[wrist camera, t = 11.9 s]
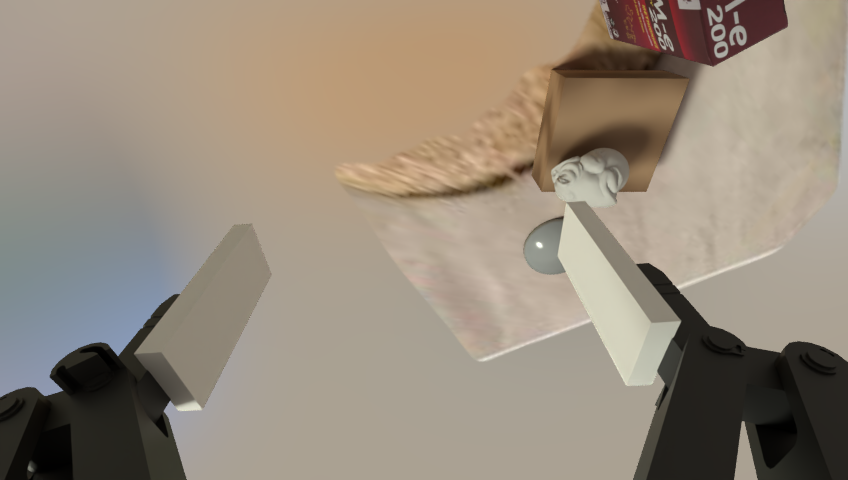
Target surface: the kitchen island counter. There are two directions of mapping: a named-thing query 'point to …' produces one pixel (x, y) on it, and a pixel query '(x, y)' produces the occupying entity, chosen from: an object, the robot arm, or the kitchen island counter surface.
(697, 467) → the robot arm
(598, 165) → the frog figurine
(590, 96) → the walnut block
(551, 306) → the kitchen island counter surface
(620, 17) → the supplement box
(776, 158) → the kitchen island counter surface
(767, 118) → the kitchen island counter surface
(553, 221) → the grey oval dome
